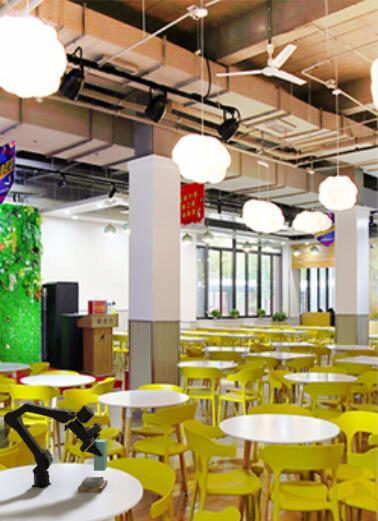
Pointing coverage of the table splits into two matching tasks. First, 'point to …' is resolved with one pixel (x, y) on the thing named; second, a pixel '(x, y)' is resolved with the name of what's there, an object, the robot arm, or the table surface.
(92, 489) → the walnut slab
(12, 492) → the table surface
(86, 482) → the charcoal tile
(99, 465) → the teal pillar
